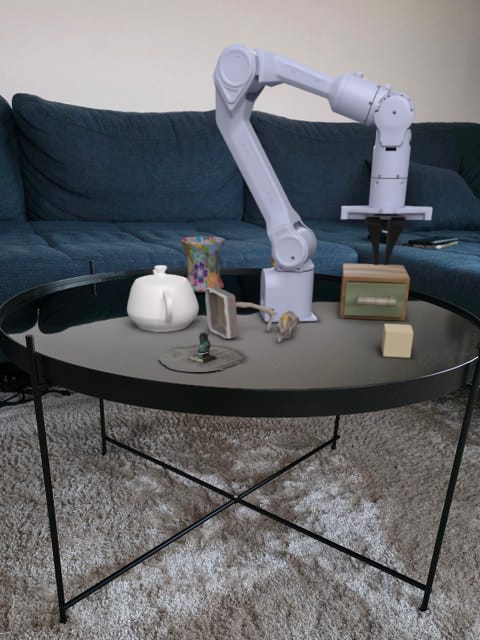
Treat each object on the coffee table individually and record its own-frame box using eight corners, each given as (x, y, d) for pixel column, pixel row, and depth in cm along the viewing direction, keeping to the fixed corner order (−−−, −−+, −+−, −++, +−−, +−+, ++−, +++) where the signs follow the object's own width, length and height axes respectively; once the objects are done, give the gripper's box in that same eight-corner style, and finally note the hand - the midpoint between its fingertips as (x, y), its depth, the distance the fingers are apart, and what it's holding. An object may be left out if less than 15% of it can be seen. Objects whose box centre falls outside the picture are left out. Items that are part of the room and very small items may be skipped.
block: (410, 358, 89) (413, 332, 87) (382, 356, 89) (386, 330, 88) (407, 349, 92) (410, 324, 91) (381, 348, 93) (384, 323, 91)
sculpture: (246, 350, 92) (243, 322, 85) (236, 403, 89) (232, 378, 82) (172, 341, 94) (163, 313, 87) (159, 392, 90) (148, 367, 83)
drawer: (405, 325, 102) (409, 291, 99) (344, 322, 103) (346, 288, 100) (397, 302, 116) (400, 272, 114) (343, 299, 118) (345, 270, 115)
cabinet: (404, 320, 107) (410, 278, 104) (340, 317, 109) (343, 276, 106) (398, 303, 118) (403, 265, 115) (340, 301, 120) (343, 263, 117)
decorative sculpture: (297, 327, 103) (300, 285, 100) (307, 344, 95) (310, 298, 92) (205, 328, 102) (204, 285, 99) (206, 345, 94) (205, 299, 90)
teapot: (124, 311, 112) (119, 256, 108) (188, 307, 115) (187, 254, 110) (132, 343, 94) (127, 279, 90) (208, 338, 97) (207, 275, 93)
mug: (228, 294, 125) (228, 242, 120) (184, 296, 123) (182, 243, 119) (220, 282, 135) (219, 234, 131) (179, 283, 134) (177, 235, 129)
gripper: (343, 179, 93) (337, 267, 98) (439, 179, 91) (427, 269, 96) (343, 176, 99) (338, 260, 105) (433, 177, 97) (422, 261, 103)
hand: (380, 264), depth 101 cm, fingers closed
